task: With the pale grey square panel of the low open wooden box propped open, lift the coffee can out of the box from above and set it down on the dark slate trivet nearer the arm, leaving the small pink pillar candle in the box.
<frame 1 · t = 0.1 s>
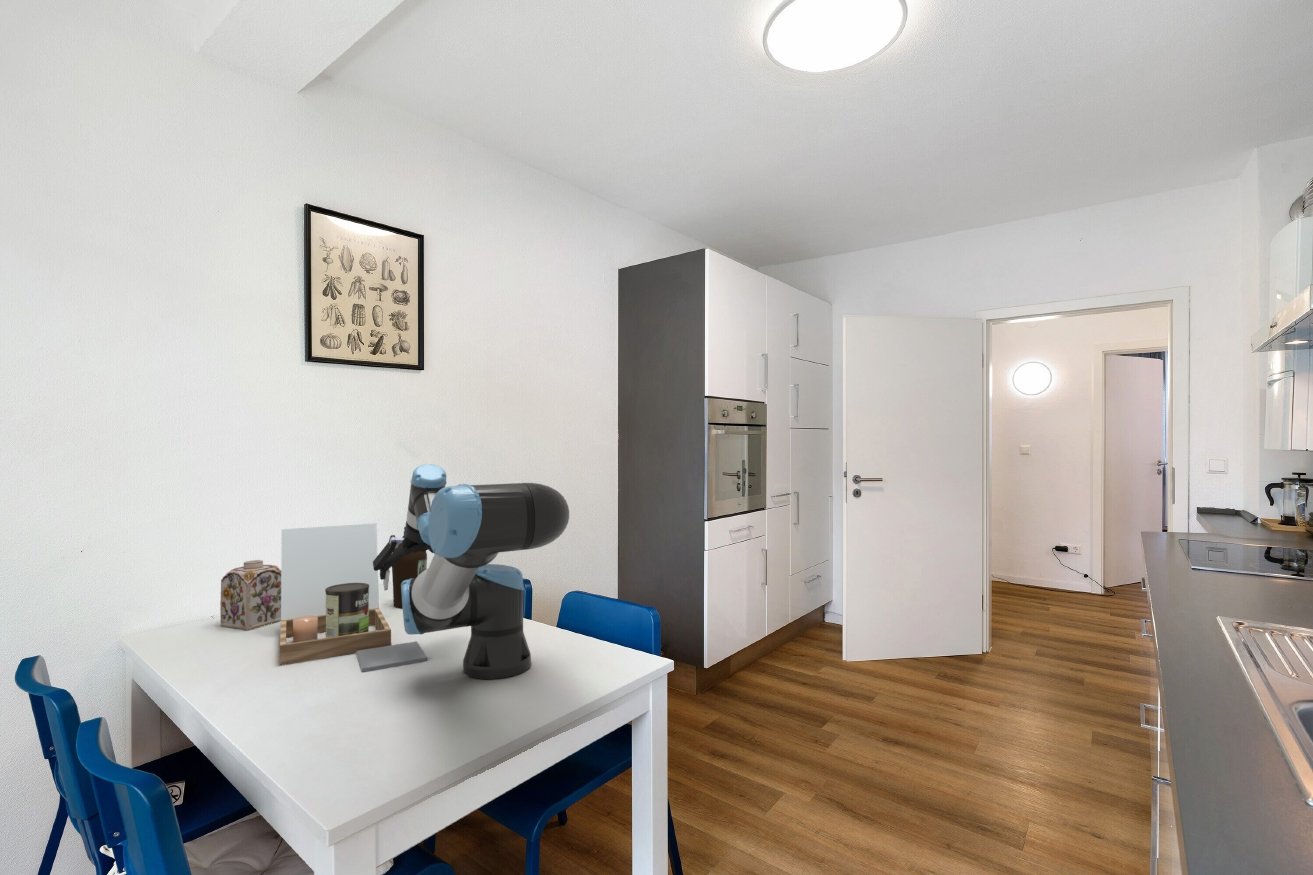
hand: (413, 582, 159), 15 cm above the table, tool tilted 35°, fingers open, 13 cm apart
coffee can: (347, 641, 161), resting in open wooden box
pink pillar candle: (305, 641, 160), resting in open wooden box
decorative jar: (253, 623, 177), on the table
trivet: (391, 657, 148), on the table
pale grey square panel: (331, 569, 173), point 16 cm above the table, hinge at 105.0°, touching open wooden box
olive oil: (409, 605, 197), on the table
open wooden box: (334, 642, 159), on the table
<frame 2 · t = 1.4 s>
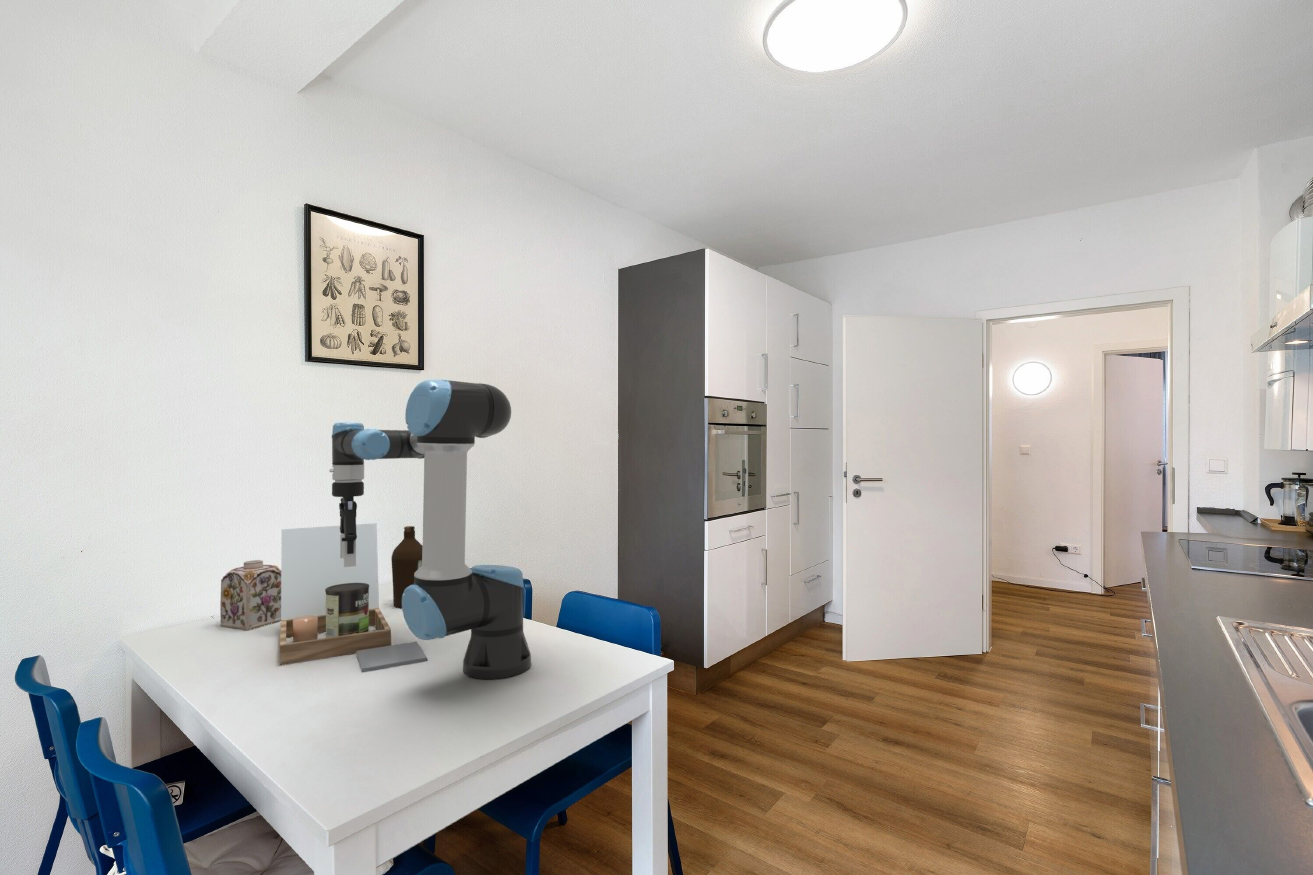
hand: (347, 562, 161), 20 cm above the table, tool pointing down, fingers open, 13 cm apart
nothing on the table moved.
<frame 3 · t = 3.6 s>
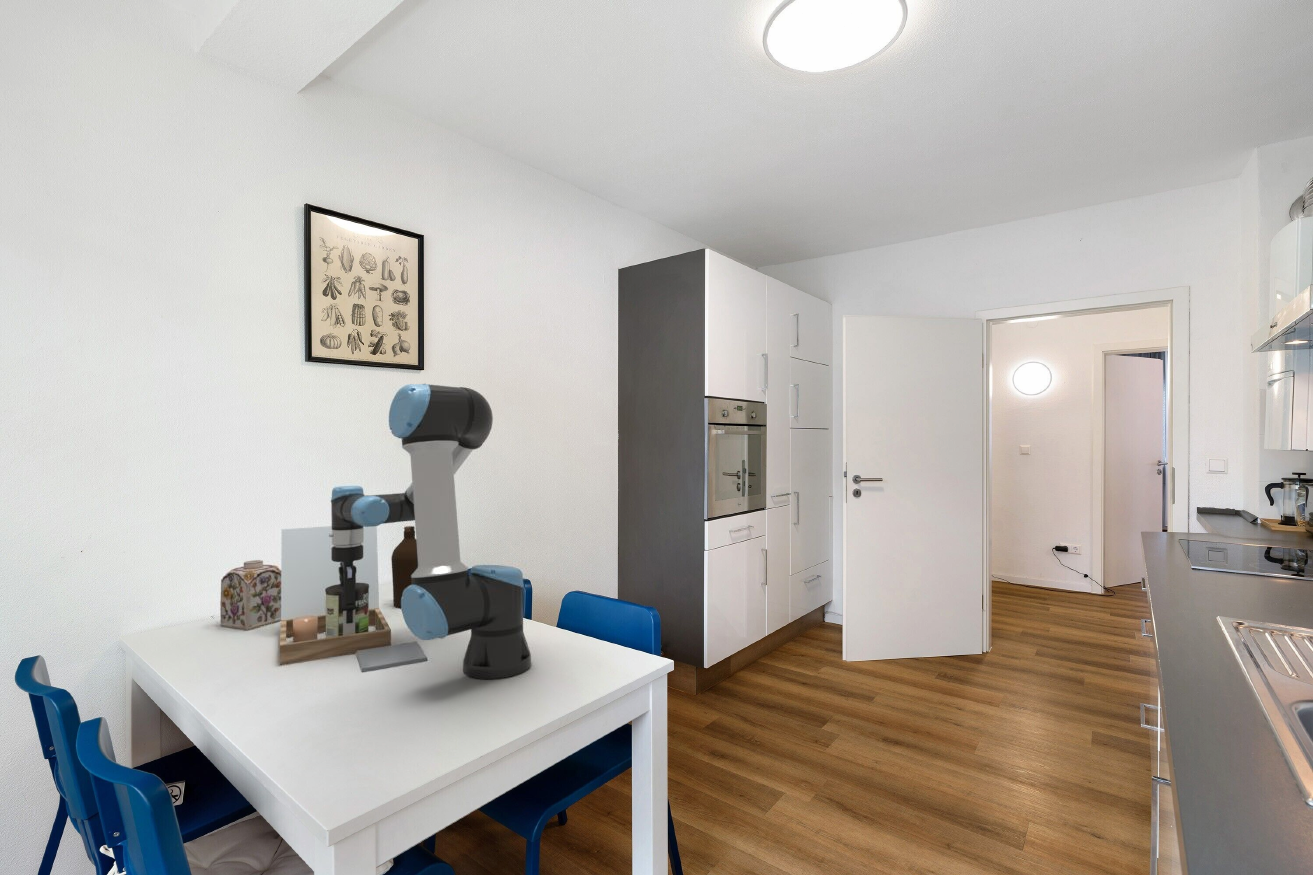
hand: (347, 629, 161), 3 cm above the table, tool pointing down, fingers closed on coffee can, 10 cm apart
coffee can: (347, 641, 161), resting in open wooden box, touching gripper
everything else where it was.
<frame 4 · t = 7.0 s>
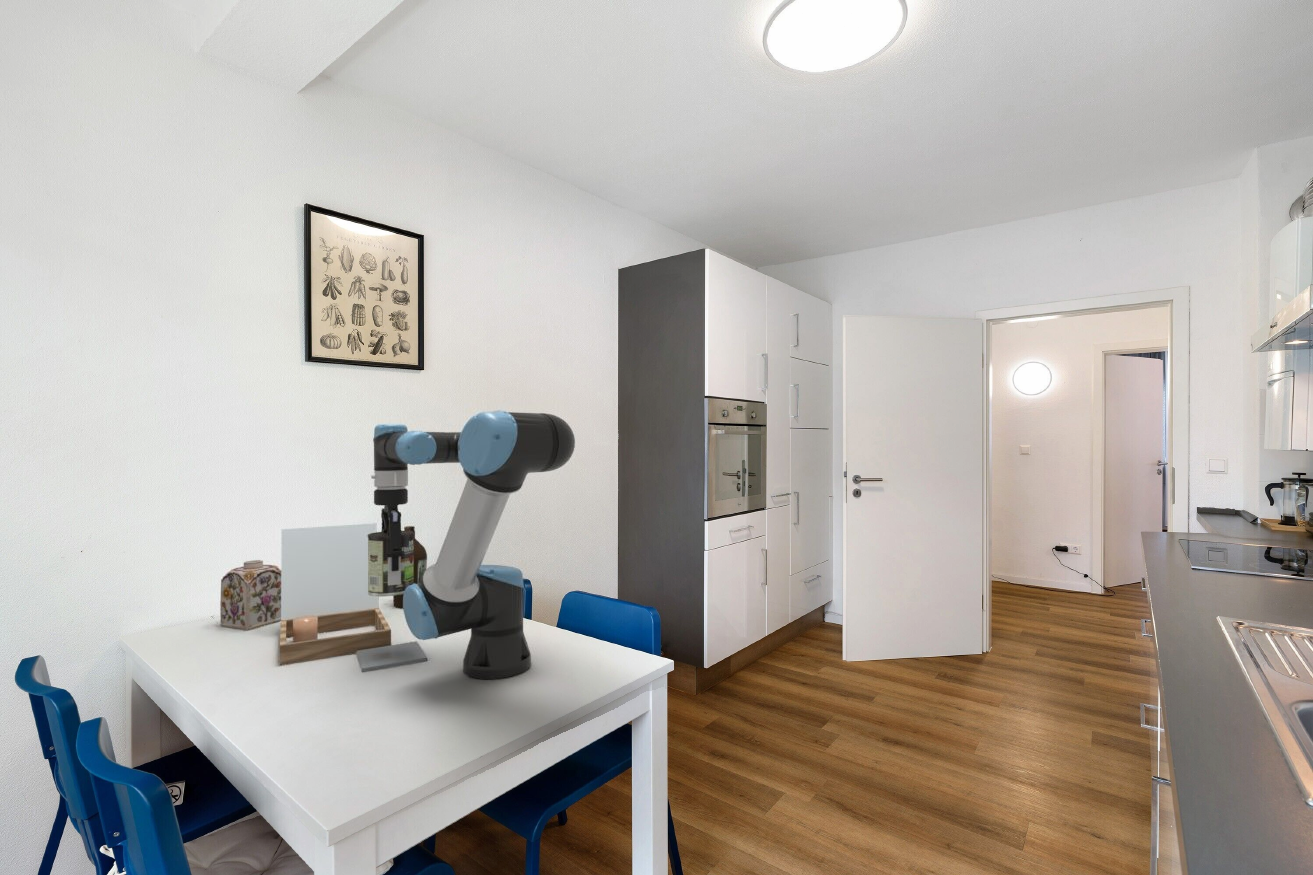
hand: (391, 580, 148), 19 cm above the table, tool pointing down, fingers closed on coffee can, 10 cm apart
coffee can: (391, 592, 148), point 16 cm above the table, touching gripper
everything else where it was.
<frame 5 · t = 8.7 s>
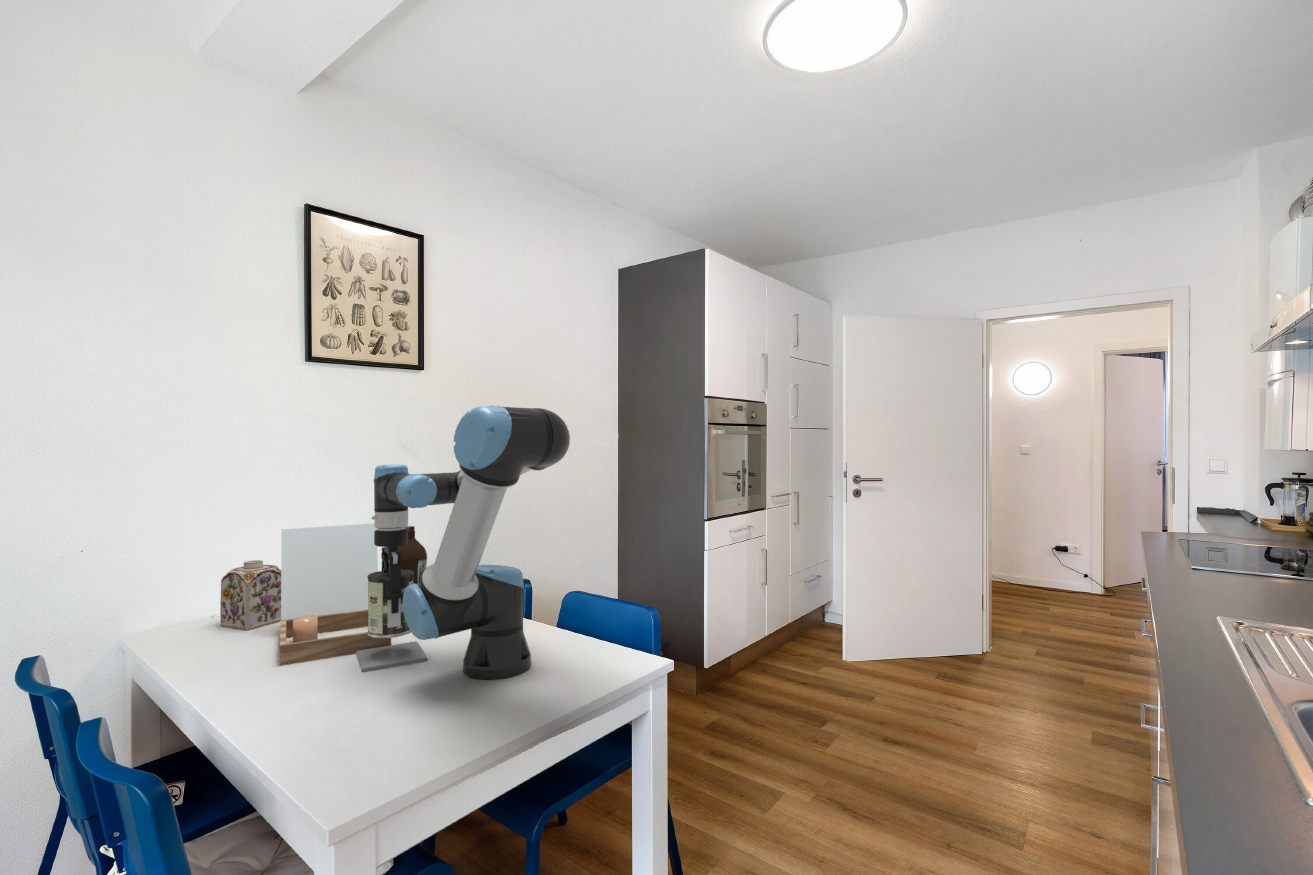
hand: (390, 620, 148), 9 cm above the table, tool pointing down, fingers closed on coffee can, 10 cm apart
coffee can: (390, 632, 148), point 6 cm above the table, touching gripper
everything else where it was.
when the fingers open (5 cm above the table, at t = 10.1 s): coffee can drops 1 cm, resting on trivet.
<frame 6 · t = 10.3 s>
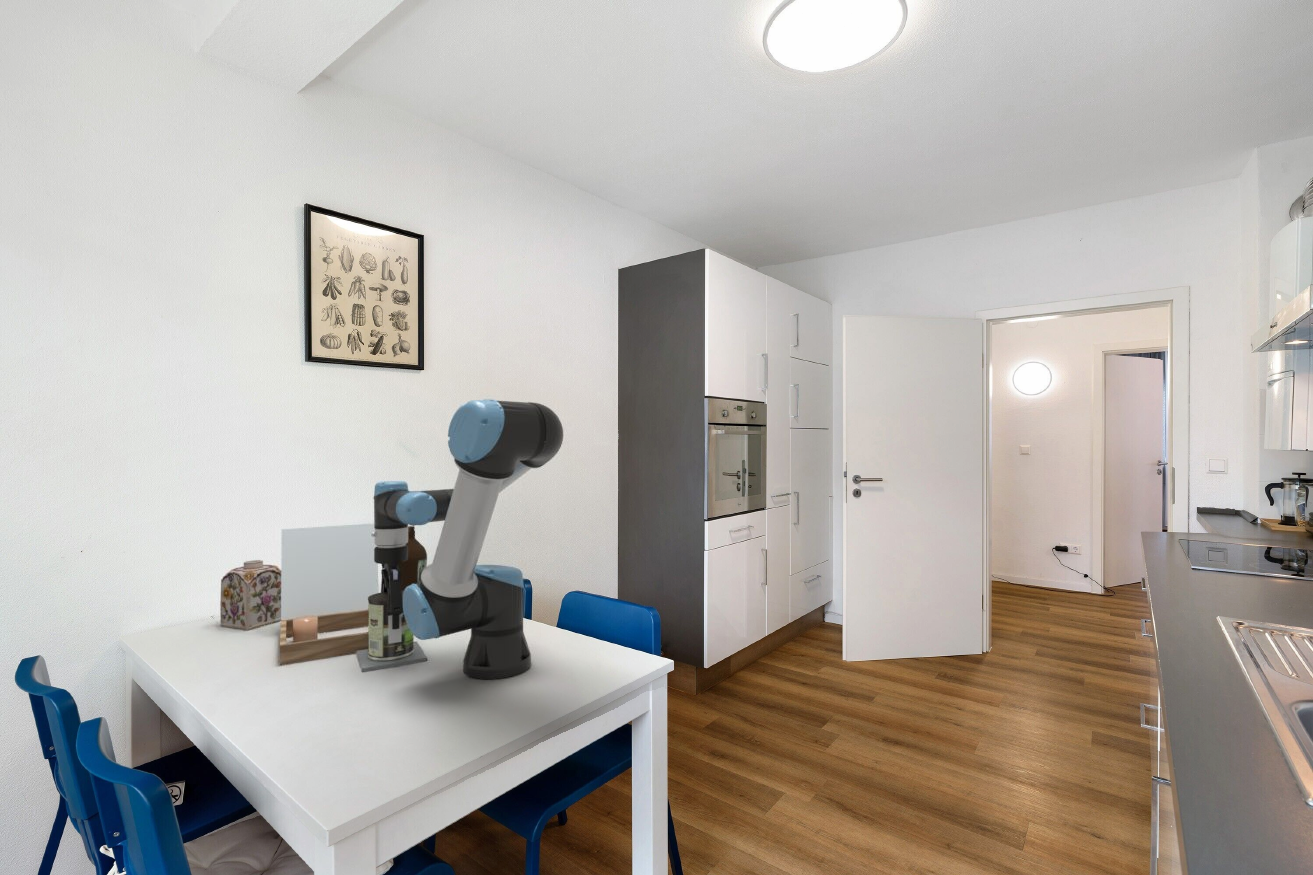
hand: (391, 635, 148), 5 cm above the table, tool pointing down, fingers open, 12 cm apart
coffee can: (391, 654, 148), point 1 cm above the table, touching trivet
everything else where it was.
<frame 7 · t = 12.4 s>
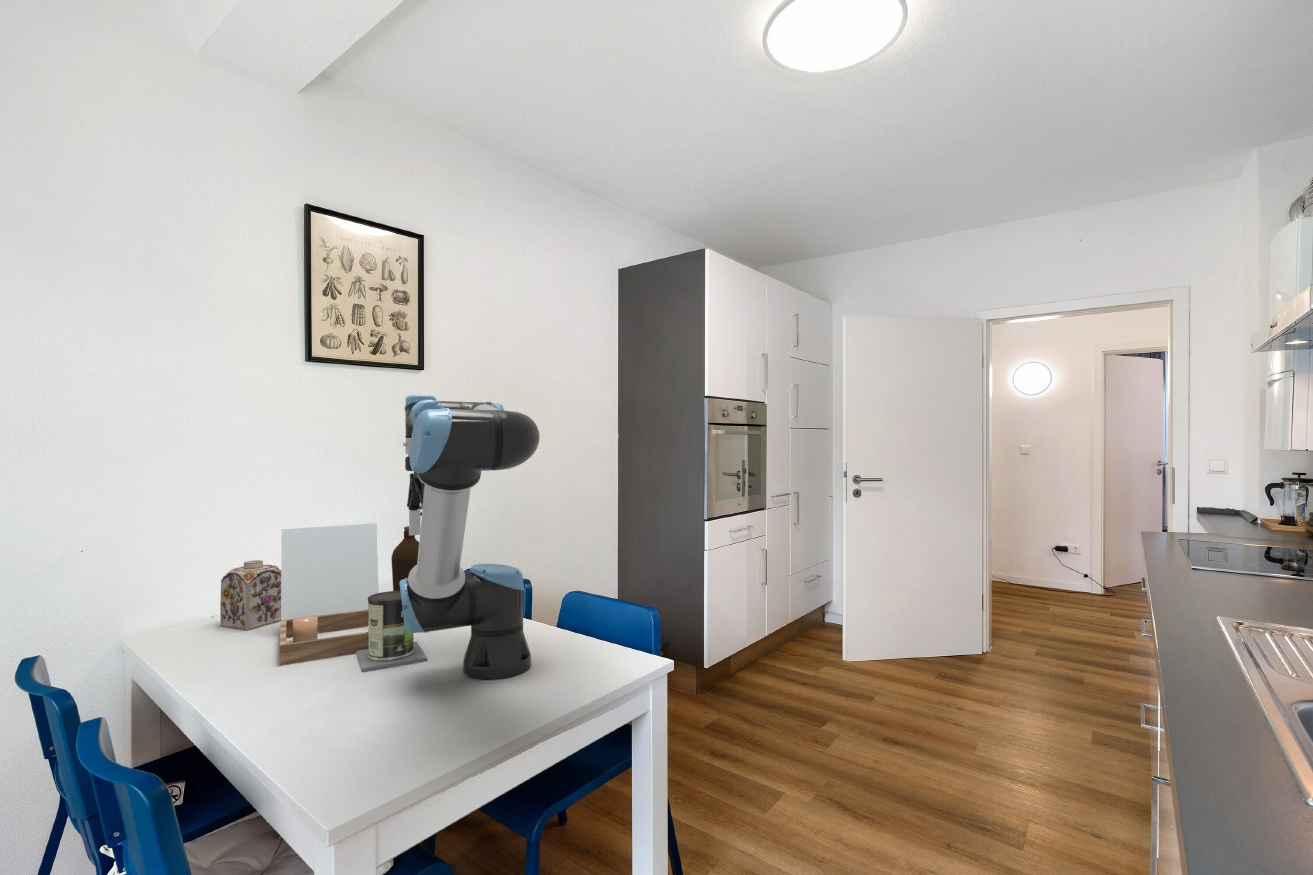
hand: (420, 538, 157), 27 cm above the table, tool pointing down, fingers open, 13 cm apart
nothing on the table moved.
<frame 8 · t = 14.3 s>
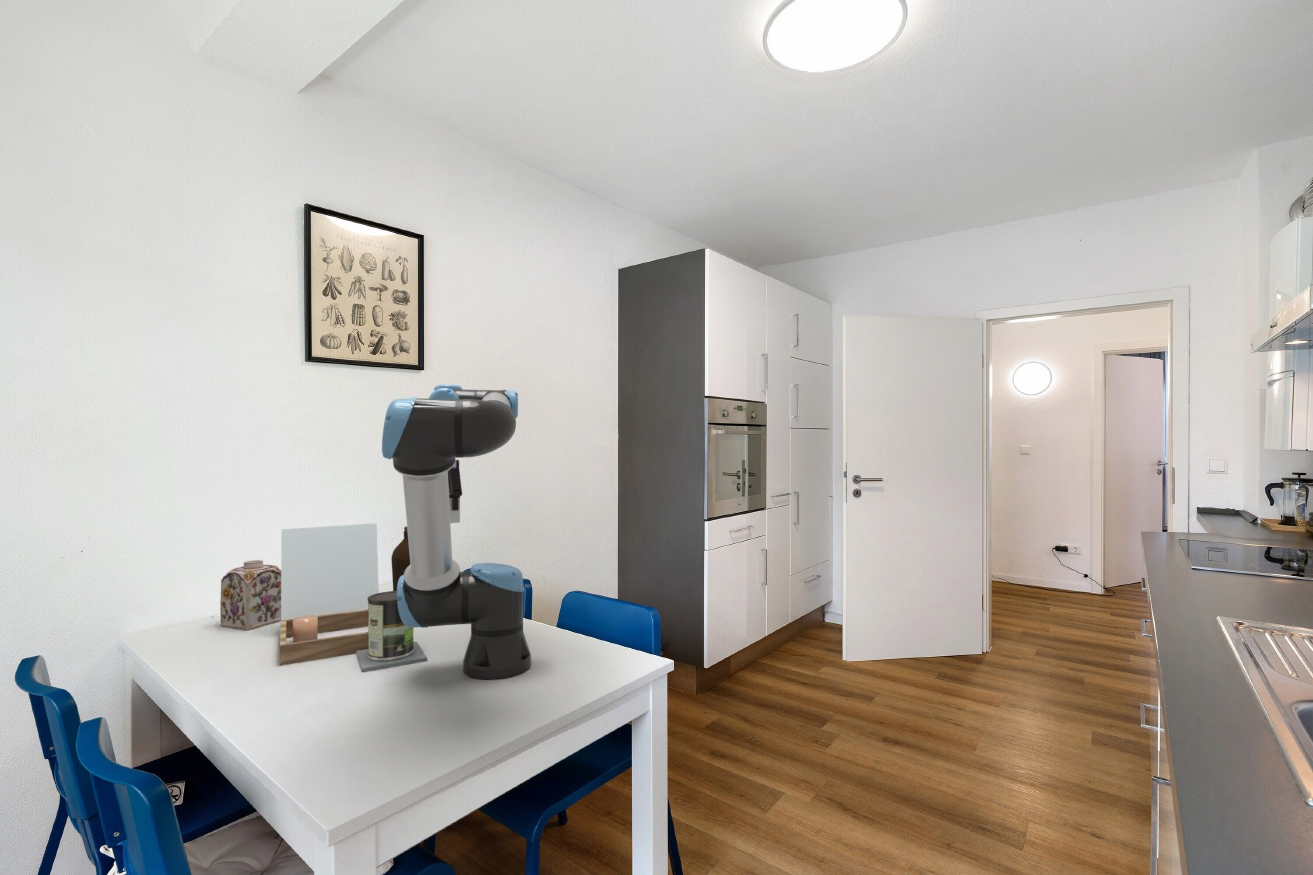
hand: (448, 520, 167), 31 cm above the table, tool pointing down, fingers open, 13 cm apart
nothing on the table moved.
at the end: coffee can inside the target area on the trivet (0.1 cm from its centre), point 0.6 cm above the trivet's base; coffee can tilted 0° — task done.
